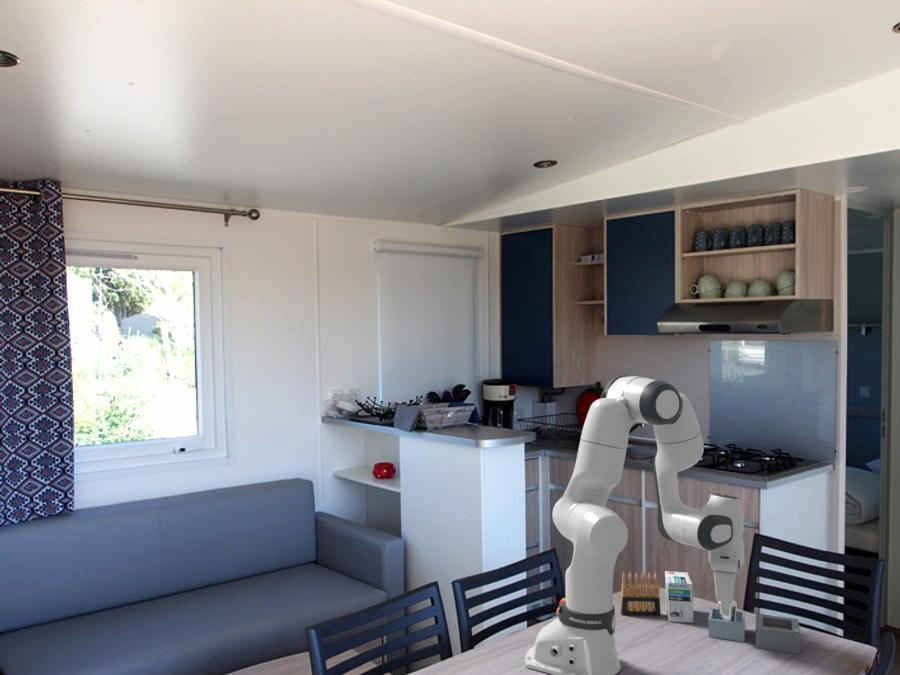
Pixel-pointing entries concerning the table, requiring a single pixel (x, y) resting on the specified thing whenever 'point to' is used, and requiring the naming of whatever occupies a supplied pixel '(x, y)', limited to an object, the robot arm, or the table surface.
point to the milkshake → (732, 612)
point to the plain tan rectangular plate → (777, 627)
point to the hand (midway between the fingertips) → (726, 608)
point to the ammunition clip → (640, 596)
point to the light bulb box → (679, 597)
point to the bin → (726, 626)
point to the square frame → (777, 634)
